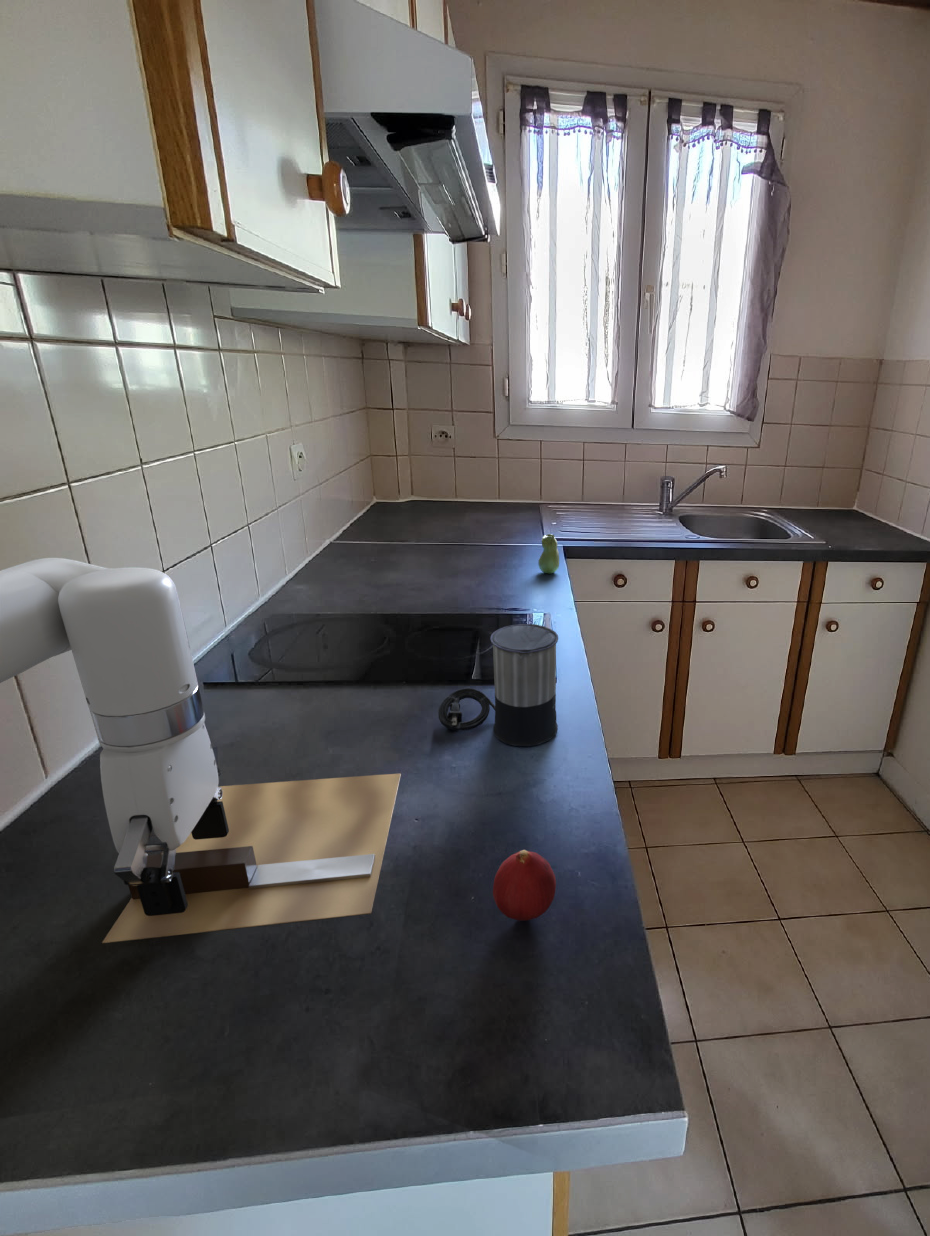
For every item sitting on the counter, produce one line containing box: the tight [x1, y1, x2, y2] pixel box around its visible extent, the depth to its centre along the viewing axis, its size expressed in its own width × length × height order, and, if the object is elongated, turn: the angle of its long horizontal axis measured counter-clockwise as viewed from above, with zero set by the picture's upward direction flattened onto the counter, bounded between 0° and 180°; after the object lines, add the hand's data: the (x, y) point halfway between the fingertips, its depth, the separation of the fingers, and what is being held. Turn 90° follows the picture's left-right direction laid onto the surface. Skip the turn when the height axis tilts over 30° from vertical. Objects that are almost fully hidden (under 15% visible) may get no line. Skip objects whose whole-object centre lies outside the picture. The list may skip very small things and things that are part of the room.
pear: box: [537, 533, 560, 574], centre depth 160 cm, size 6×5×10 cm
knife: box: [127, 846, 375, 899], centre depth 62 cm, size 21×3×3 cm, turn 101°
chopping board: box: [101, 772, 402, 944], centre depth 67 cm, size 22×22×2 cm
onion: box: [492, 849, 557, 921], centre depth 60 cm, size 6×6×8 cm
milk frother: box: [438, 623, 559, 747], centre depth 90 cm, size 14×16×15 cm
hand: (191, 871), depth 60 cm, fingers open, 9 cm apart
